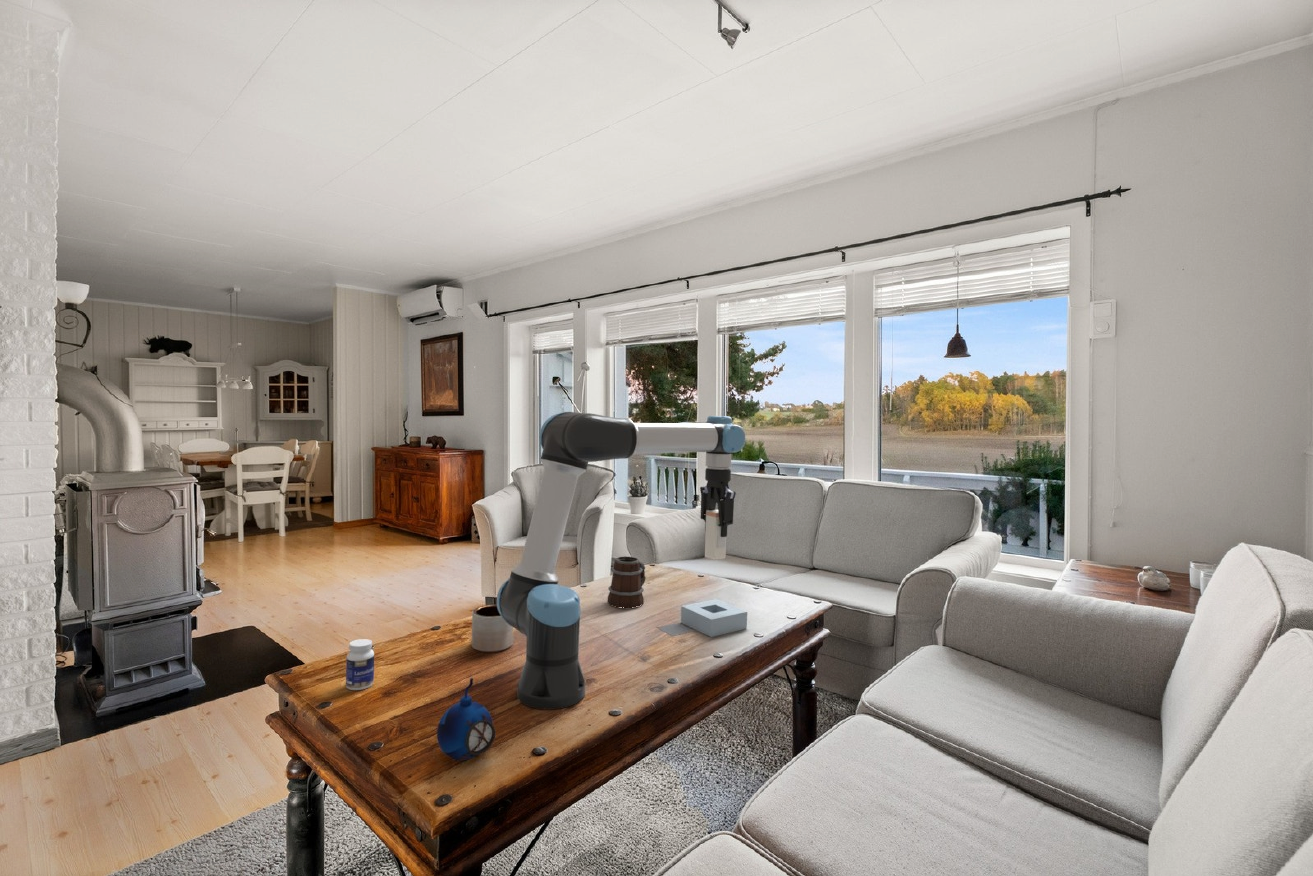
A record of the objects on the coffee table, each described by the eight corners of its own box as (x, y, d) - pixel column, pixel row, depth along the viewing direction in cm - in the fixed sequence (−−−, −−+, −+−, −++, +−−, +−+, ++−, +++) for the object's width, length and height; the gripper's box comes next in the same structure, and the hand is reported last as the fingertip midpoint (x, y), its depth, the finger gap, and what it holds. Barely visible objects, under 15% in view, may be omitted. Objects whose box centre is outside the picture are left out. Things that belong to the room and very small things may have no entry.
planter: (521, 646, 167) (521, 611, 166) (485, 656, 159) (486, 620, 158) (498, 635, 174) (499, 601, 174) (463, 644, 166) (464, 609, 166)
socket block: (710, 640, 176) (711, 619, 176) (680, 625, 187) (681, 605, 187) (746, 631, 184) (747, 611, 184) (715, 617, 195) (716, 599, 195)
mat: (672, 639, 175) (672, 636, 175) (656, 630, 182) (656, 627, 182) (694, 634, 180) (694, 631, 180) (677, 626, 187) (678, 622, 187)
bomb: (457, 781, 106) (459, 695, 105) (426, 755, 113) (427, 675, 113) (506, 758, 113) (508, 678, 113) (473, 736, 121) (475, 660, 120)
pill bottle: (355, 693, 136) (356, 649, 136) (340, 686, 139) (341, 643, 139) (379, 684, 141) (379, 641, 141) (364, 677, 144) (364, 635, 144)
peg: (714, 560, 181) (716, 512, 181) (704, 557, 185) (706, 510, 184) (725, 558, 184) (727, 511, 183) (715, 555, 188) (717, 509, 187)
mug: (629, 611, 199) (630, 565, 198) (600, 603, 206) (601, 558, 205) (657, 600, 211) (658, 556, 211) (629, 593, 218) (631, 551, 218)
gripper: (748, 470, 178) (745, 550, 179) (708, 464, 193) (706, 539, 194) (728, 471, 174) (725, 553, 175) (689, 465, 188) (687, 541, 189)
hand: (715, 545), depth 184 cm, fingers closed on peg, 4 cm apart
